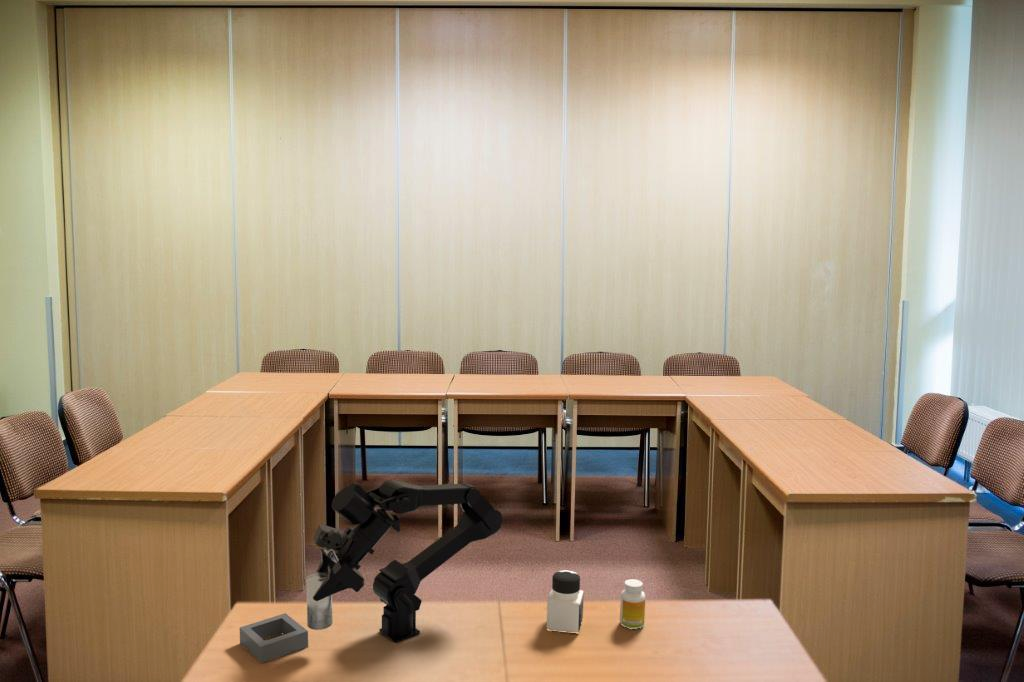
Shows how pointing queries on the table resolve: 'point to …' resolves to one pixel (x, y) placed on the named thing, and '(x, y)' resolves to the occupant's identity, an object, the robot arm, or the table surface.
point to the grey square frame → (275, 647)
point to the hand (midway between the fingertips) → (312, 594)
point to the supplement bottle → (632, 604)
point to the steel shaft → (318, 603)
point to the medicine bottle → (565, 602)
